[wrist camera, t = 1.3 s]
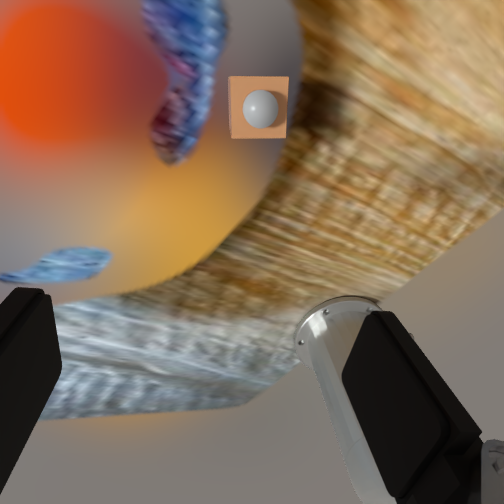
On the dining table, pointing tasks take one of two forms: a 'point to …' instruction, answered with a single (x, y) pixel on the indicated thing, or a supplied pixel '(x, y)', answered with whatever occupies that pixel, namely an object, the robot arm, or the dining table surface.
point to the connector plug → (258, 106)
